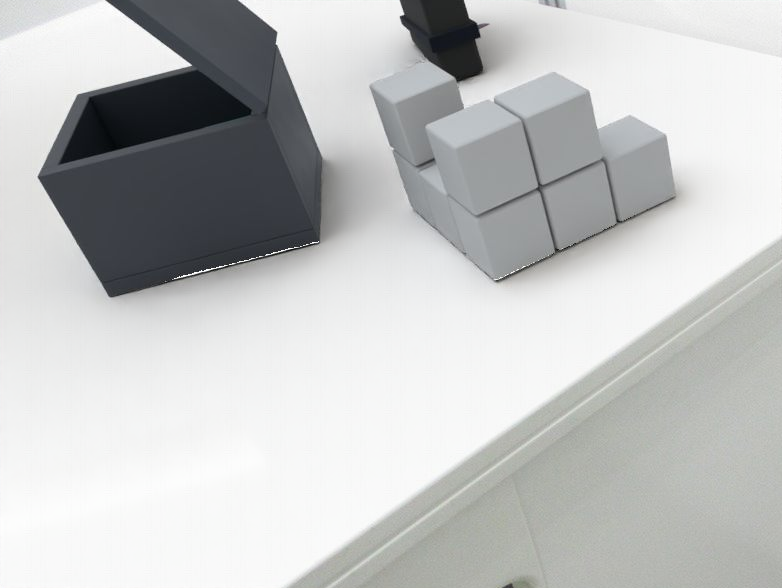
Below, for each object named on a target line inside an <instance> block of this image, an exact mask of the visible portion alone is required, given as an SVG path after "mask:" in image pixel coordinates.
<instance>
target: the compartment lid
mask: <svg viewBox="0 0 782 588" xmlns="http://www.w3.org/2000/svg"><path fill="white" fill-rule="evenodd" d="M104 1H105V2H107V3H108V4H109V5H111V7H113V8H115V9H116V10H117V11H119V12H120V13H121V14H123V15H124V16H125V17H126V18H128V19H130V20H131V21H132V22H133V23H134V24H136V25H138V26H139V27H140V28H141V29H142V30H144V31H146V32H147V33H148V34H149V35H150V36H152V37H154V38H155V39H156V40H158V41H159V42H160V43H161V44H163V45H164V46H166V47H167V48H169V50H171V51H172V52H173V53H174V54H176V55H178V56H179V57H180V58H181V59H183V60H184V61H186V62H187V63H188V64H189V65H190V66H194V67H195V68H196V69H198V70H199V71H200V72H202V73H203V74H204V75H206V76H207V77H208V78H210V79H211V80H212V81H214V82H215V83H216V84H218V85H219V86H220V87H222V88H223V89H224V90H226V91H227V92H228V93H230V94H231V95H232V96H234V97H235V98H236V99H238V100H239V101H240V102H242V103H243V104H244V105H246V106H247V107H249V108H250V109H251V110H253V111H254V112H255V113H257V114H258V115H260V114H261V113H262V112H263V110H264V109H265V108H266V107H267V104H268V97H269V89H270V82H271V75H272V68H273V61H274V54H275V47H276V45H277V38H278V31H277V30H276V29H275V28H273V27H272V26H271V25H270V24H268V23H267V22H266V21H264V20H263V18H262V17H259V16H258V15H257V14H256V13H255V12H253V11H252V10H251V9H250V8H249V7H247V6H246V5H245V4H243V2H241V1H240V0H104Z"/></svg>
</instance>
